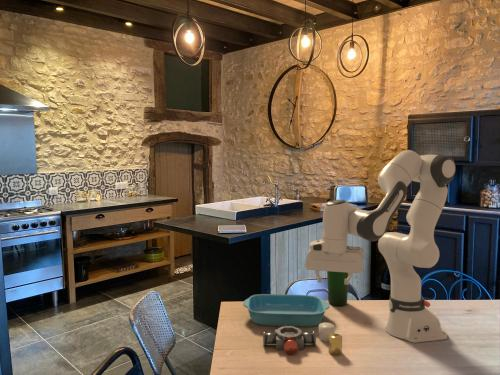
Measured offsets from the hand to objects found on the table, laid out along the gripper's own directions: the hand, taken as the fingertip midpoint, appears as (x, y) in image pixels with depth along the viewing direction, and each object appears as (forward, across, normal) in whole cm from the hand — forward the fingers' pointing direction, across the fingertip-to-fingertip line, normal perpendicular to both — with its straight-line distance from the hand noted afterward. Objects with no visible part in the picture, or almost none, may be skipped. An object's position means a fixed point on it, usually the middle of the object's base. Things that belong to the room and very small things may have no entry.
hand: (333, 283), depth 144 cm
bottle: (+24, -3, -45) cm, 51 cm away
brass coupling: (+25, -2, +2) cm, 25 cm away
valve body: (+25, +15, +1) cm, 29 cm away
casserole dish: (+25, +19, -24) cm, 40 cm away
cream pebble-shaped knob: (+25, +2, -8) cm, 26 cm away
